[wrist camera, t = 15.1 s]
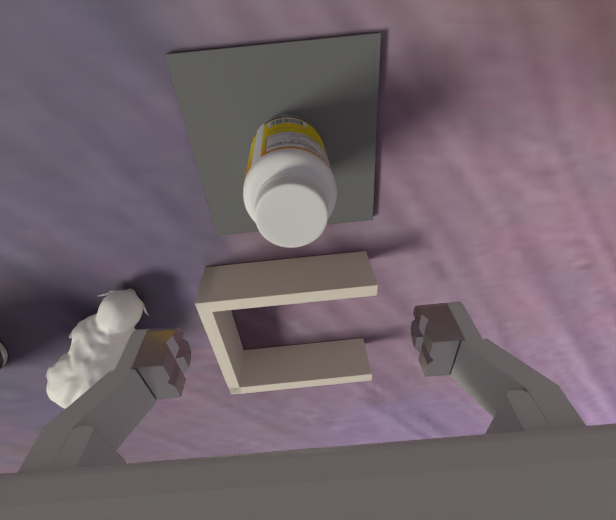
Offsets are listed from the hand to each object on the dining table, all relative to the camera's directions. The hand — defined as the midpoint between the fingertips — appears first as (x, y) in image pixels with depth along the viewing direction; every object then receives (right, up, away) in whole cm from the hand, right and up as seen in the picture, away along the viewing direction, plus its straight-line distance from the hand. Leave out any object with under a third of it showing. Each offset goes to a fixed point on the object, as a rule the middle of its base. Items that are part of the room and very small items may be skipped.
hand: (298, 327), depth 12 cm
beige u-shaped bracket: (-1, -3, +26) cm, 26 cm away
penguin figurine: (-20, -3, +25) cm, 32 cm away
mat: (-1, +11, +15) cm, 18 cm away
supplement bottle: (-1, +11, +14) cm, 18 cm away
